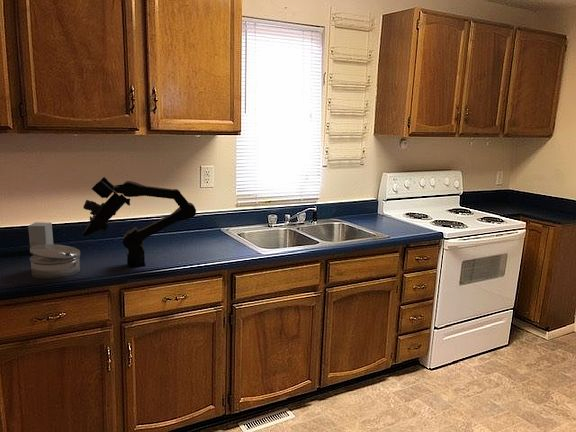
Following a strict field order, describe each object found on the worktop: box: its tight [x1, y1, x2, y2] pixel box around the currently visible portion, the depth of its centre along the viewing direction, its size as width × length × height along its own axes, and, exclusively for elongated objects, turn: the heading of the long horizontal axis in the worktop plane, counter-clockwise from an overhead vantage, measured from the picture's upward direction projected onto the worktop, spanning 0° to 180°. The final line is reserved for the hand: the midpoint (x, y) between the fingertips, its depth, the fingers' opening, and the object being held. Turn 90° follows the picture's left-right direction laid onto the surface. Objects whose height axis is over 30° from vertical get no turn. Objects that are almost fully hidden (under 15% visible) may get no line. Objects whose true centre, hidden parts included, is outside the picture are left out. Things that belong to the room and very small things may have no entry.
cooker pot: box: [29, 254, 81, 280], centre depth 189 cm, size 18×25×6 cm
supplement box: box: [27, 221, 54, 249], centre depth 212 cm, size 7×7×13 cm
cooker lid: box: [29, 243, 81, 259], centre depth 185 cm, size 18×18×1 cm
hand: (83, 235), depth 188 cm, fingers closed
